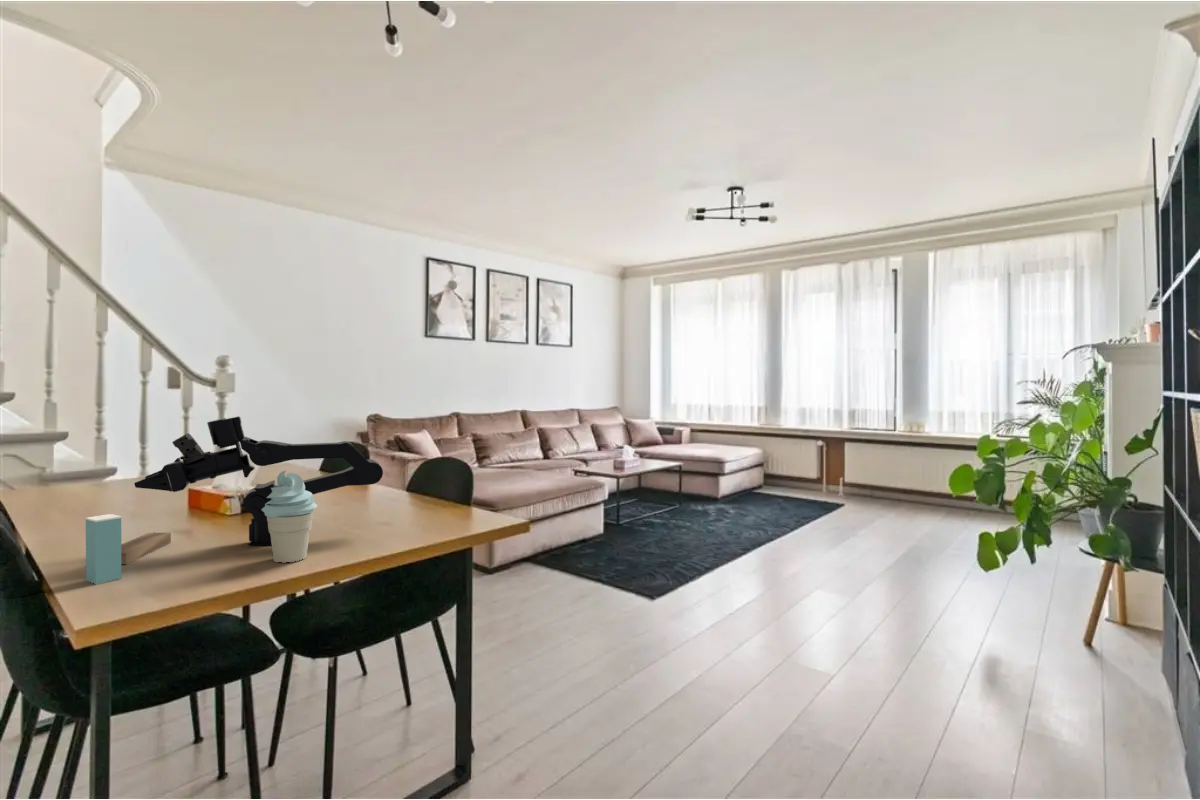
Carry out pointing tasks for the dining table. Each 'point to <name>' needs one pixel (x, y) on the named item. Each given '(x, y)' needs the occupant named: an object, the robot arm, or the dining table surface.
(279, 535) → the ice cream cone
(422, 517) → the dining table surface
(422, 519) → the dining table surface
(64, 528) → the dining table surface
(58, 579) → the dining table surface
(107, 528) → the teal block
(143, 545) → the walnut strip
